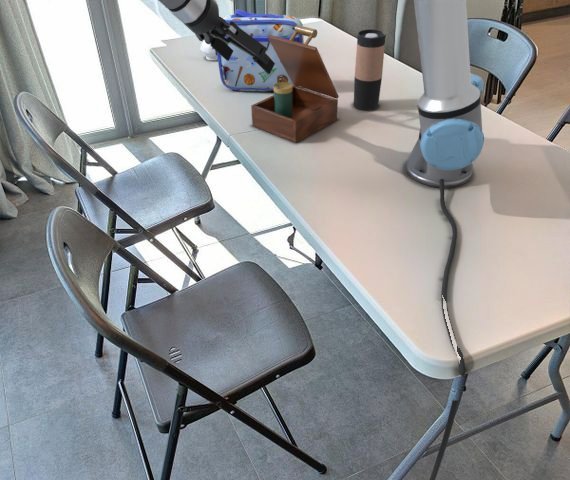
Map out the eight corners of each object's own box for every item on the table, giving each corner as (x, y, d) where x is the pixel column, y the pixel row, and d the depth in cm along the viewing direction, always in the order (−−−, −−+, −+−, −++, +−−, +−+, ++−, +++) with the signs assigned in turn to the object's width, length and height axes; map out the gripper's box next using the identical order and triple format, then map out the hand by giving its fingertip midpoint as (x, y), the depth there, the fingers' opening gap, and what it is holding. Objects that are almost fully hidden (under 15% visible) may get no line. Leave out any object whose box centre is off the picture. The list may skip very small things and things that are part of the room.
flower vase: (184, 55, 193) (172, -24, 176) (234, 49, 197) (228, -29, 180) (190, 68, 184) (179, -14, 167) (243, 61, 188) (237, -20, 171)
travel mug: (348, 108, 157) (352, 35, 144) (358, 98, 162) (363, 27, 149) (373, 113, 155) (380, 39, 141) (382, 103, 160) (390, 31, 146)
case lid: (314, 49, 132) (329, 27, 132) (267, 36, 140) (281, 16, 140) (337, 98, 148) (350, 79, 148) (293, 84, 156) (306, 66, 156)
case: (295, 143, 142) (295, 121, 138) (252, 126, 150) (251, 105, 146) (337, 119, 152) (338, 99, 148) (294, 105, 160) (294, 85, 156)
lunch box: (214, 93, 168) (205, 16, 153) (220, 80, 175) (213, 6, 161) (302, 94, 165) (303, 17, 150) (305, 81, 173) (305, 6, 158)
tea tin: (284, 131, 145) (283, 91, 138) (271, 126, 148) (269, 86, 140) (296, 124, 148) (296, 85, 141) (283, 120, 150) (282, 80, 143)
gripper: (245, 0, 103) (297, 58, 121) (162, -20, 116) (220, 36, 134) (228, 36, 104) (282, 89, 122) (147, 13, 116) (207, 64, 135)
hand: (250, 61), depth 128 cm, fingers open, 13 cm apart
